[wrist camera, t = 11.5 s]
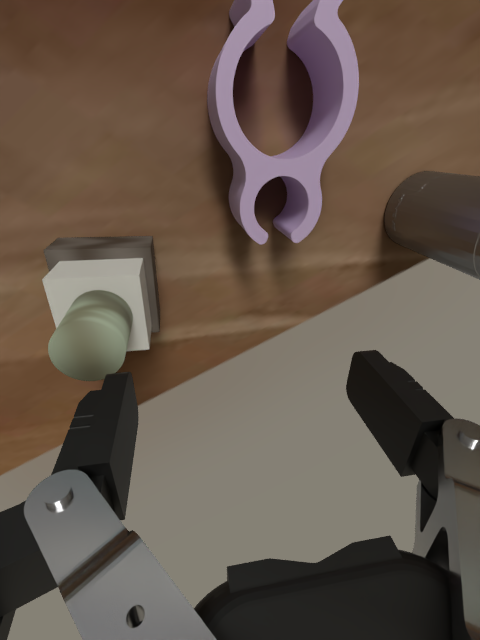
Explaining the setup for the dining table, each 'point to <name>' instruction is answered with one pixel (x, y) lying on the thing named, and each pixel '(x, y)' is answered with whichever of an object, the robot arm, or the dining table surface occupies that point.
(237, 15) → the clip
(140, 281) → the top block
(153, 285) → the base block
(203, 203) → the dining table surface
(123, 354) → the sage cylinder
